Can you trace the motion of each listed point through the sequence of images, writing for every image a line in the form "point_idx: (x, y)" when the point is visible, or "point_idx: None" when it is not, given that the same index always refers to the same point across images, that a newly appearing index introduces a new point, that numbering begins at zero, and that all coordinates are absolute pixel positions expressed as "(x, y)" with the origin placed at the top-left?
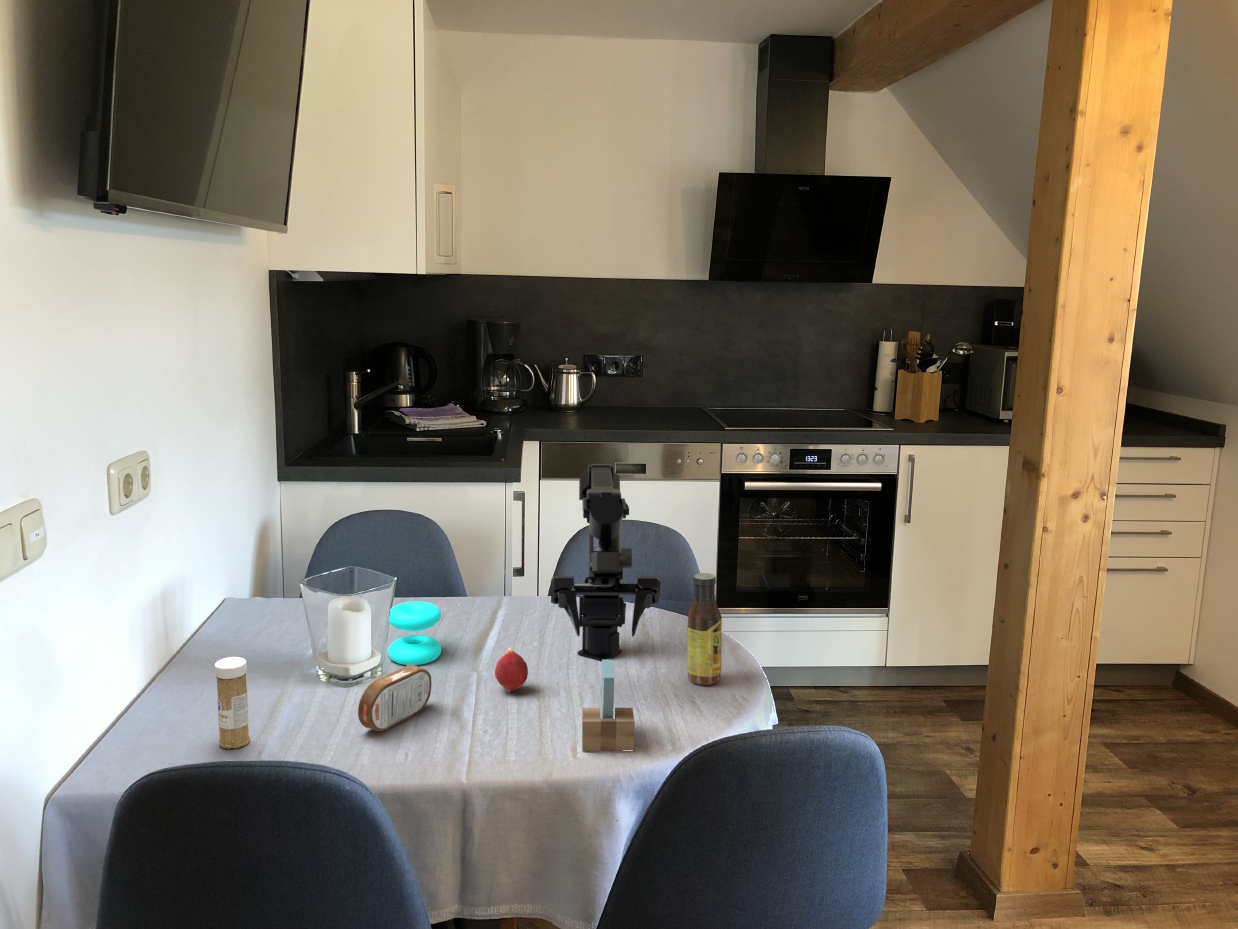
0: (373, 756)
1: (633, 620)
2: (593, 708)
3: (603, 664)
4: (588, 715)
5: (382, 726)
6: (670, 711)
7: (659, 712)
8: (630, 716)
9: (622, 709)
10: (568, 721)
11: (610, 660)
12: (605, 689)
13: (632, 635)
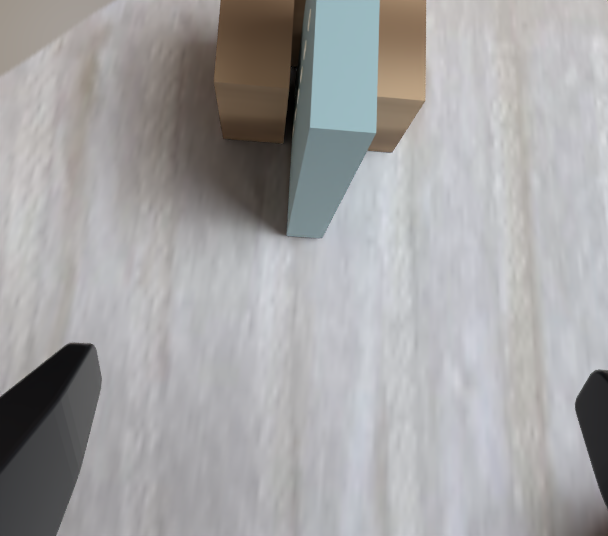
0: None
1: (14, 438)
2: (379, 89)
3: (372, 54)
4: (402, 30)
5: None
6: (33, 337)
7: (81, 330)
8: (234, 4)
9: (259, 67)
10: (434, 276)
11: (321, 112)
12: None
13: (95, 362)
